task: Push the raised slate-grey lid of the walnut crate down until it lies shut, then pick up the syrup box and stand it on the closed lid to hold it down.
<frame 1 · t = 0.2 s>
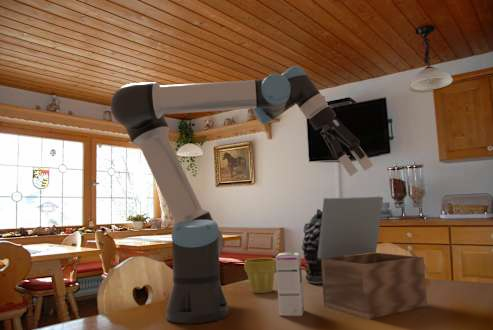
hand: (361, 171, 118), 36 cm above the table, tool tilted 35°, fingers open, 13 cm apart
plant pot: (261, 291, 128), on the table
dark pine cone: (324, 280, 143), on the table
walnut crate: (374, 305, 104), on the table
crate lid: (351, 226, 112), point 20 cm above the table, hinge at 75.0°
syrup box: (291, 314, 100), on the table
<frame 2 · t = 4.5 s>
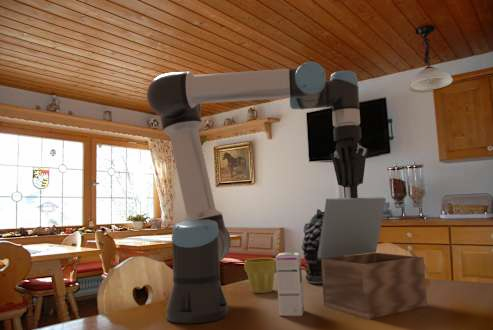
hand: (351, 210, 112), 24 cm above the table, tool pointing down, fingers closed
crate lid: (352, 226, 111), point 20 cm above the table, hinge at 71.5°, touching gripper
everything else where it was.
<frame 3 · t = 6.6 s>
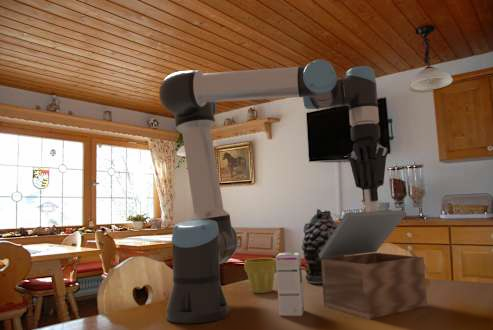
hand: (371, 214, 105), 23 cm above the table, tool pointing down, fingers closed
crate lid: (362, 234, 108), point 18 cm above the table, hinge at 42.8°, touching gripper
everything else where it was.
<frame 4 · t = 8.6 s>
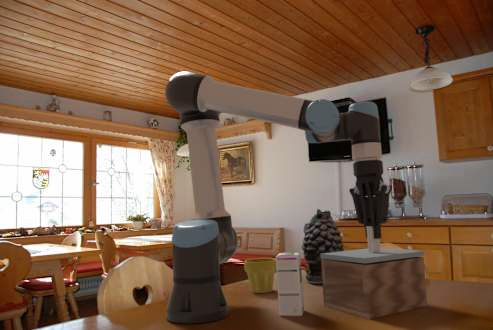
hand: (374, 251, 104), 14 cm above the table, tool pointing down, fingers closed
crate lid: (371, 254, 105), point 13 cm above the table, hinge at 0.7°, touching gripper
everything else where it was.
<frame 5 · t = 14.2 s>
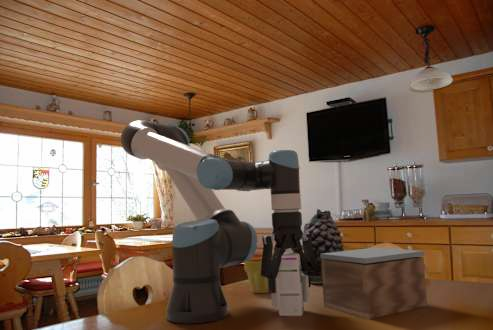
hand: (290, 303, 100), 2 cm above the table, tool pointing down, fingers closed on syrup box, 8 cm apart
crate lid: (371, 254, 105), point 13 cm above the table, hinge at 0.6°
syrup box: (291, 314, 100), on the table, touching gripper
everything else where it was.
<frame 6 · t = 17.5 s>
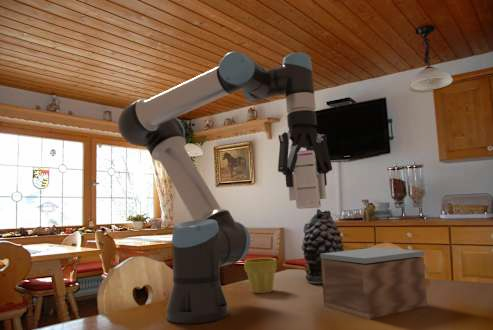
hand: (308, 199, 103), 28 cm above the table, tool pointing down, fingers closed on syrup box, 8 cm apart
syrup box: (308, 209, 103), point 25 cm above the table, touching gripper
everything else where it was.
when the fingers open (17 cm above the table, at t = 20.9 s): syrup box drops 1 cm, resting on crate lid.
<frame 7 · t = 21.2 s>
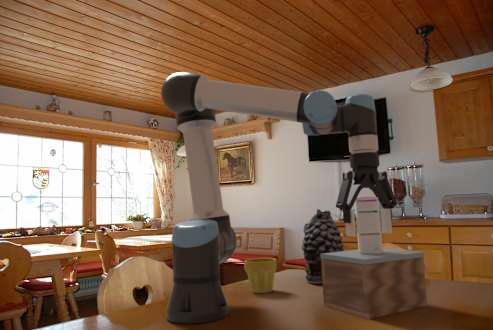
hand: (369, 234, 106), 18 cm above the table, tool pointing down, fingers open, 12 cm apart
crate lid: (371, 255, 105), point 13 cm above the table, hinge at -0.3°, touching syrup box
syrup box: (370, 253, 105), point 13 cm above the table, touching crate lid
everything else where it was.
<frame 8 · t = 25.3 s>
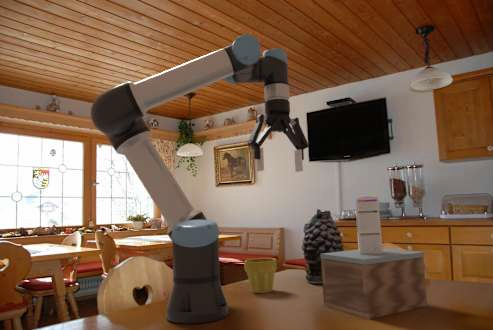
hand: (280, 171, 120), 37 cm above the table, tool pointing down, fingers open, 13 cm apart
nothing on the table moved.
at the end: crate lid at +0° (first picture: +75°); syrup box inside the target area on the walnut crate (0.3 cm from its centre), point 13.2 cm above the walnut crate's base; syrup box tilted 0° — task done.
